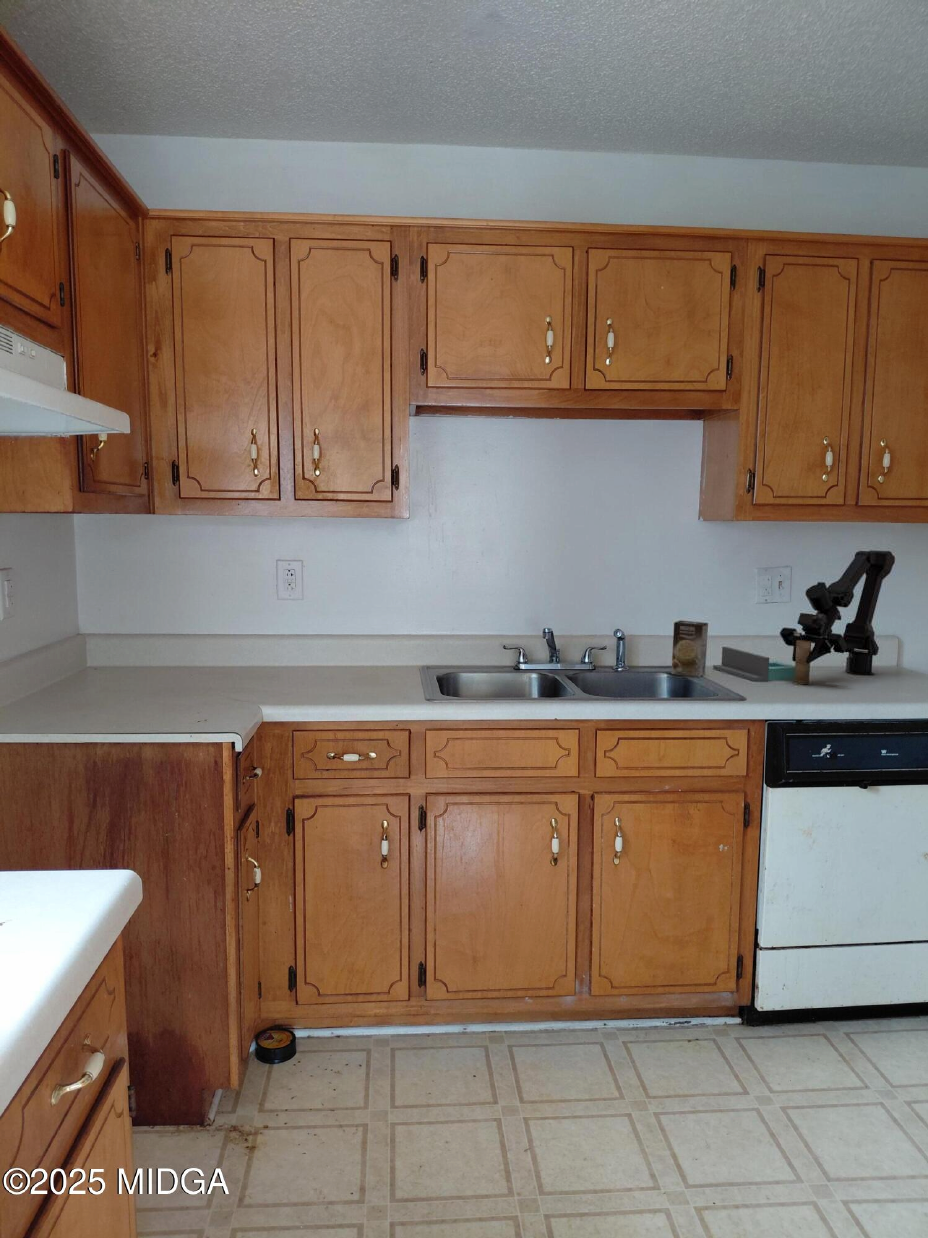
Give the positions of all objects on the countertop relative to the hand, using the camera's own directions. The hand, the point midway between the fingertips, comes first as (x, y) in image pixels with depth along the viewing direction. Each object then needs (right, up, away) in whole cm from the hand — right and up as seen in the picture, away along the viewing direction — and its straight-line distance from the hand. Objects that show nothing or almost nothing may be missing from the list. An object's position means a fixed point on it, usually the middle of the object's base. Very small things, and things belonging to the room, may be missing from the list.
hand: (800, 661), depth 250 cm
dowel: (+1, -6, +2) cm, 7 cm away
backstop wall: (-13, -5, +15) cm, 20 cm away
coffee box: (-29, -5, +14) cm, 32 cm away
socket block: (-4, -6, +12) cm, 14 cm away
